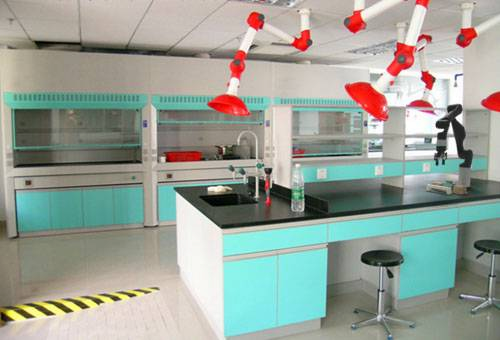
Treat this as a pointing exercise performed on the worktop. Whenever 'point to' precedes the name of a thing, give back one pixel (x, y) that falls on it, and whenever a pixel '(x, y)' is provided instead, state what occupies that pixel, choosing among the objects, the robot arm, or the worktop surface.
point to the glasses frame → (438, 188)
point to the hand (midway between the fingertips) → (440, 165)
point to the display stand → (454, 188)
